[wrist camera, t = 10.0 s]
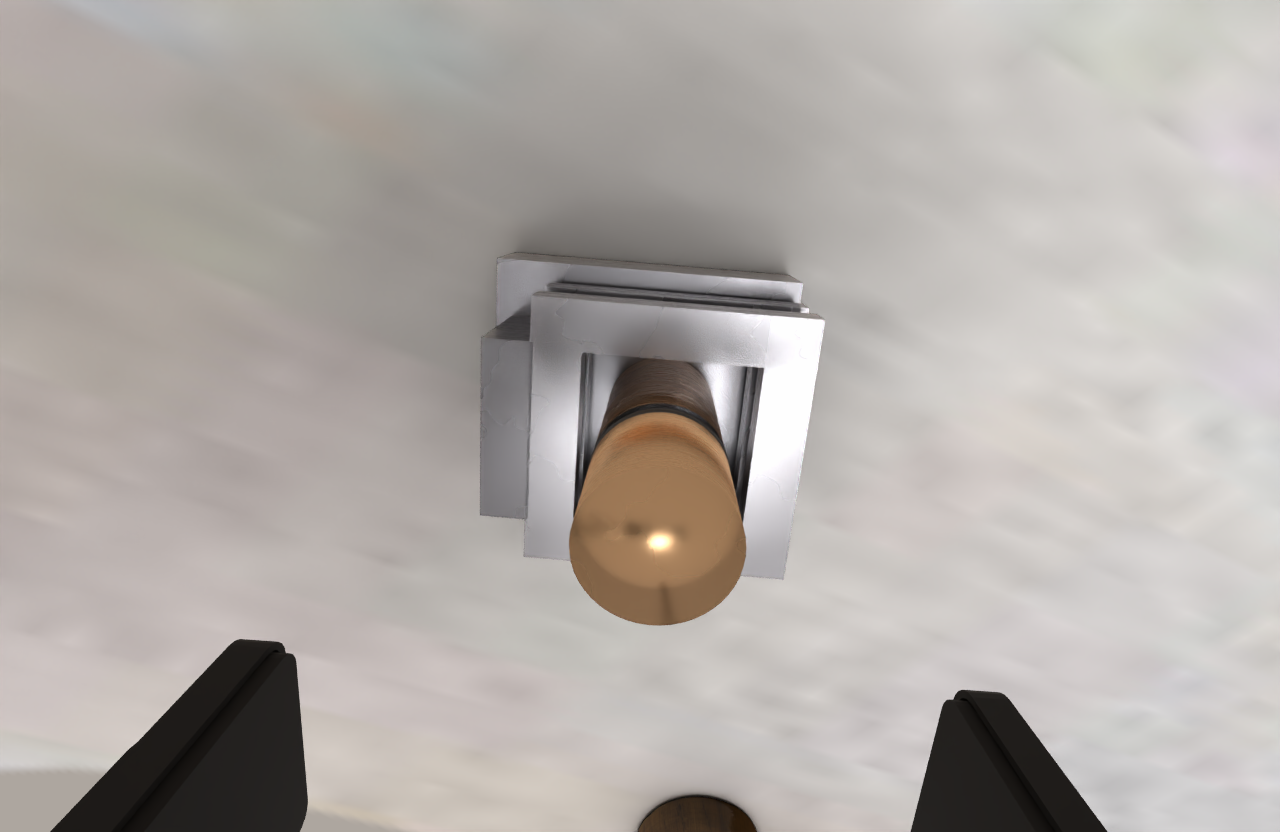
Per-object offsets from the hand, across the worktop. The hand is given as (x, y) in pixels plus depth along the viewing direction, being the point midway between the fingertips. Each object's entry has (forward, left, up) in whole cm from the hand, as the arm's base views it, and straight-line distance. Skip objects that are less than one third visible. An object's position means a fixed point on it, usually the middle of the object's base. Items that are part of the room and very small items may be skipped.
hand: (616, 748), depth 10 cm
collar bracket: (0, 0, -20) cm, 20 cm away
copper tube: (0, 0, -17) cm, 17 cm away
